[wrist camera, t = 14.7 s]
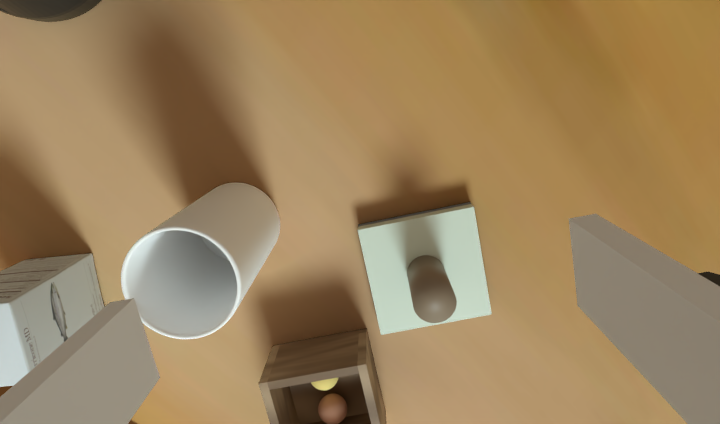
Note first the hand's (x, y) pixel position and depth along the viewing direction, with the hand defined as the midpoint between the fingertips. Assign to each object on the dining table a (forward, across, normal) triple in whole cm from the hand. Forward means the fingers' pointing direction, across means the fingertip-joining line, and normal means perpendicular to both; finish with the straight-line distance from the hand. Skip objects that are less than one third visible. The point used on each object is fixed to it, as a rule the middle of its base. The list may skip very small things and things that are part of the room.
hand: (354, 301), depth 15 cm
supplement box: (+35, -32, -8) cm, 48 cm away
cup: (+35, -13, -5) cm, 37 cm away
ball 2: (+32, -8, -25) cm, 41 cm away
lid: (+34, +4, -12) cm, 36 cm away
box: (+34, -8, -23) cm, 42 cm away
